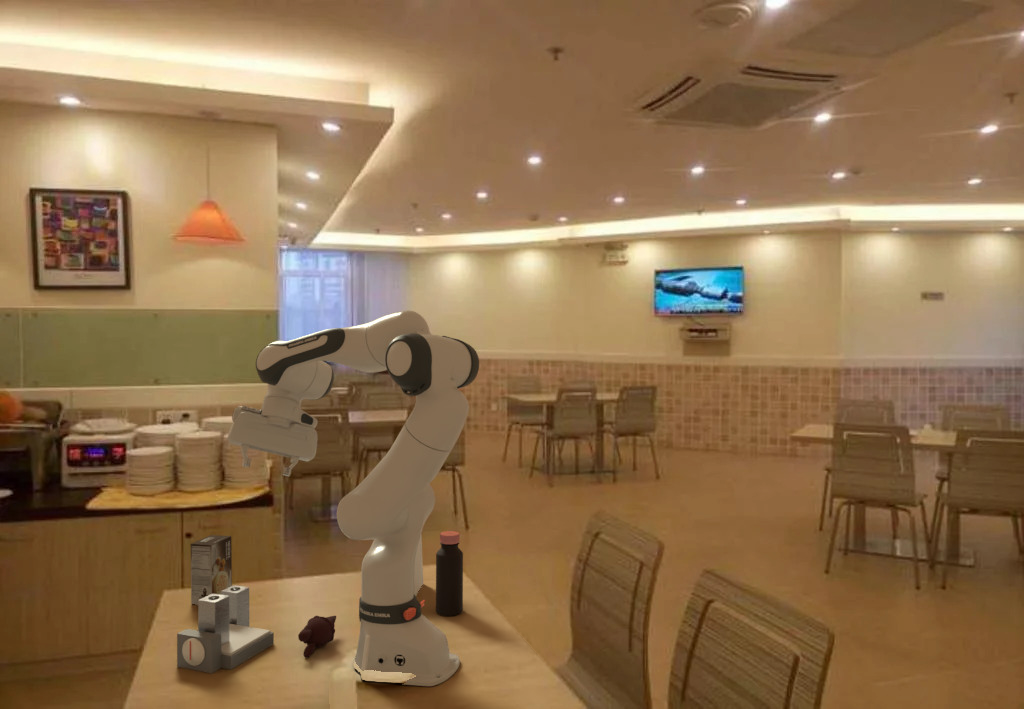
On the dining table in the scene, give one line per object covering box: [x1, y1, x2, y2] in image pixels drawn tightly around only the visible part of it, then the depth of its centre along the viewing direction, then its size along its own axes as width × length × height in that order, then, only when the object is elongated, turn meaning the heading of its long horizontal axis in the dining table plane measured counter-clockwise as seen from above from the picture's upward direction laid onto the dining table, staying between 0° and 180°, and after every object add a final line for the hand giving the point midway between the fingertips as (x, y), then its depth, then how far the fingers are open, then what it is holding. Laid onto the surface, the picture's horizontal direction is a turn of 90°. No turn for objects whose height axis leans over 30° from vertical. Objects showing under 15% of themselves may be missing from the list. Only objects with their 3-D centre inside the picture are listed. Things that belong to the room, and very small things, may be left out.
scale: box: [176, 624, 275, 674], centre depth 164 cm, size 14×17×7 cm
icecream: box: [297, 615, 337, 659], centre depth 169 cm, size 7×7×15 cm
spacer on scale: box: [197, 594, 229, 646], centre depth 162 cm, size 4×4×10 cm
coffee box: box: [190, 534, 233, 606], centre depth 198 cm, size 9×6×16 cm
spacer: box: [221, 584, 250, 627], centre depth 177 cm, size 4×4×10 cm
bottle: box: [435, 530, 464, 617], centre depth 190 cm, size 7×7×20 cm
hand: (266, 470), depth 174 cm, fingers open, 8 cm apart
